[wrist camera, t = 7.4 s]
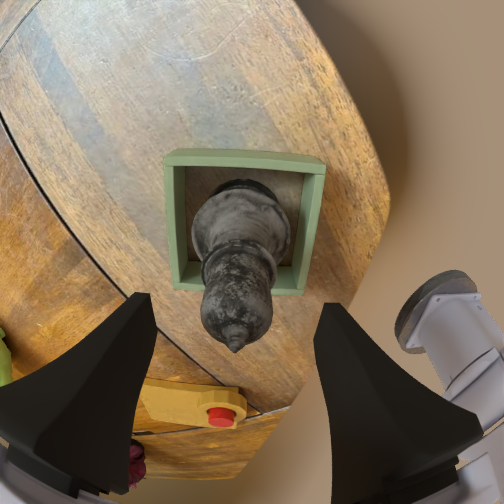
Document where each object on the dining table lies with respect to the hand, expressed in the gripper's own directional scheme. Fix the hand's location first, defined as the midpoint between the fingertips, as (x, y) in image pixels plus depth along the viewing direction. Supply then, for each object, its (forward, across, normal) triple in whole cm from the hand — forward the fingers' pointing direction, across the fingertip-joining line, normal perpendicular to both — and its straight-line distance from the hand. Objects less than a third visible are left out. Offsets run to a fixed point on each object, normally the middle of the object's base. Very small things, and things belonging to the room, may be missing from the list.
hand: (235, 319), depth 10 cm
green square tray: (+10, 0, 0) cm, 10 cm away
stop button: (+8, +1, +23) cm, 25 cm away
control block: (+10, +6, +27) cm, 30 cm away
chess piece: (+11, 0, 0) cm, 11 cm away
